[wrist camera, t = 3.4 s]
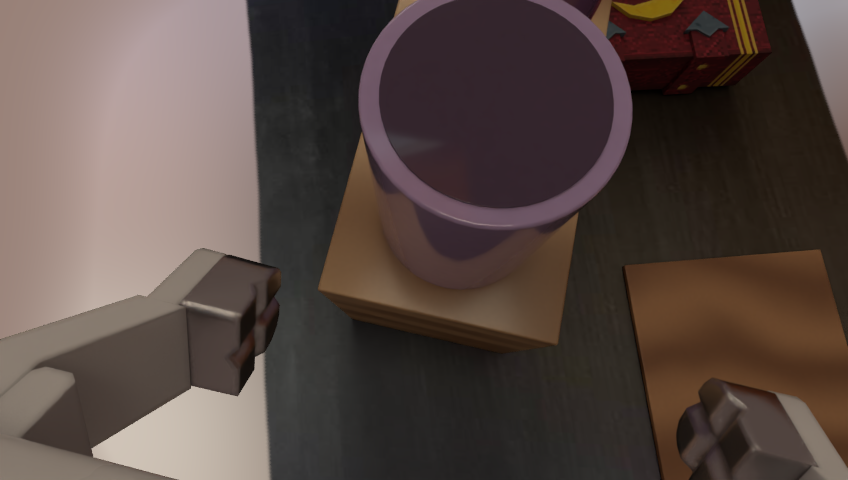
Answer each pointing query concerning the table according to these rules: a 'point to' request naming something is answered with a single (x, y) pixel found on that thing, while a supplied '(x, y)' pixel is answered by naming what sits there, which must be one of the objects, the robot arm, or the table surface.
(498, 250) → the lavender cup
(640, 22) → the decorative book
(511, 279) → the block
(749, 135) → the table surface
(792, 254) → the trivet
